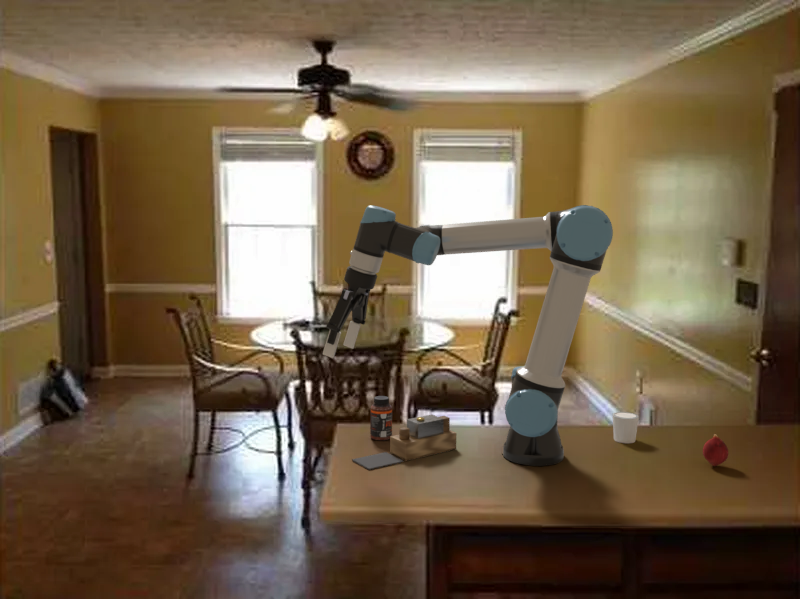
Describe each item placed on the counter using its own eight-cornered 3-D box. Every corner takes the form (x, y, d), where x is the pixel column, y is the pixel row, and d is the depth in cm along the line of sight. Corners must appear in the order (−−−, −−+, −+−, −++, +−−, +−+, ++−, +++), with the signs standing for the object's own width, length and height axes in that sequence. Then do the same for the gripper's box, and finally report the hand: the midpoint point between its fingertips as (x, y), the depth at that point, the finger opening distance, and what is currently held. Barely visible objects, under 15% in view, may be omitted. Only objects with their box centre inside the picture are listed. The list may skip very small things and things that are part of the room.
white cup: (640, 444, 206) (642, 418, 205) (615, 443, 206) (616, 418, 205) (633, 436, 213) (634, 411, 212) (608, 435, 213) (609, 411, 212)
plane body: (440, 442, 207) (440, 413, 206) (456, 449, 201) (456, 419, 200) (390, 453, 198) (390, 423, 197) (405, 461, 192) (405, 429, 191)
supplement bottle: (389, 442, 207) (389, 401, 206) (368, 440, 208) (367, 399, 207) (394, 435, 213) (394, 395, 212) (373, 433, 214) (373, 394, 213)
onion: (731, 466, 189) (733, 434, 188) (722, 472, 185) (724, 439, 184) (707, 460, 193) (709, 429, 192) (698, 466, 189) (699, 434, 188)
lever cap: (443, 434, 200) (443, 417, 199) (418, 439, 195) (418, 422, 195) (431, 429, 204) (432, 412, 203) (406, 434, 199) (406, 417, 199)
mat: (403, 462, 191) (403, 460, 191) (369, 470, 186) (369, 468, 186) (385, 453, 198) (385, 451, 198) (352, 460, 192) (352, 459, 192)
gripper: (366, 261, 198) (343, 338, 203) (329, 267, 175) (304, 354, 179) (392, 271, 197) (368, 348, 201) (359, 278, 173) (333, 366, 177)
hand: (338, 351), depth 190 cm, fingers open, 13 cm apart
